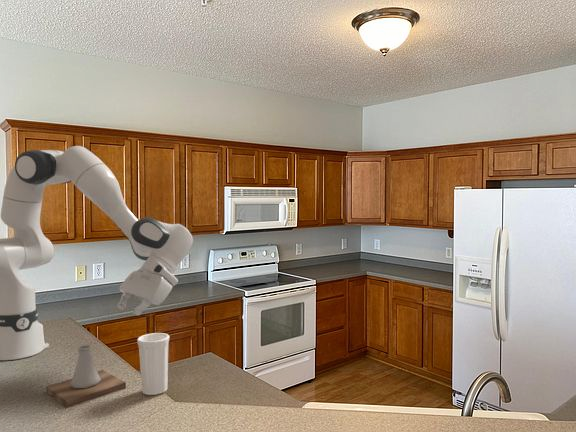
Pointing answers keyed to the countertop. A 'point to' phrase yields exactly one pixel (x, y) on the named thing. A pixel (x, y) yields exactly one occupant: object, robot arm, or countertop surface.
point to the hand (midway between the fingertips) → (127, 311)
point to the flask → (85, 370)
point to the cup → (154, 362)
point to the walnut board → (85, 390)
